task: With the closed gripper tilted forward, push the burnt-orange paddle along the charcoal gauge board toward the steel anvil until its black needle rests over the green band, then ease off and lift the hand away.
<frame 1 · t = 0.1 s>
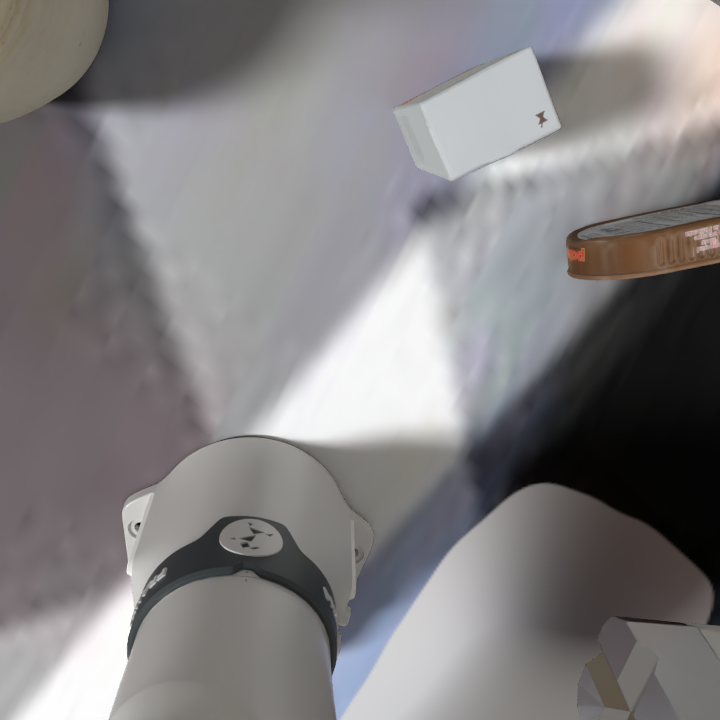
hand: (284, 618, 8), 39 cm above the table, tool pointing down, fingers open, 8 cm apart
tin: (653, 225, 47), on the table
skincare box: (443, 118, 44), on the table
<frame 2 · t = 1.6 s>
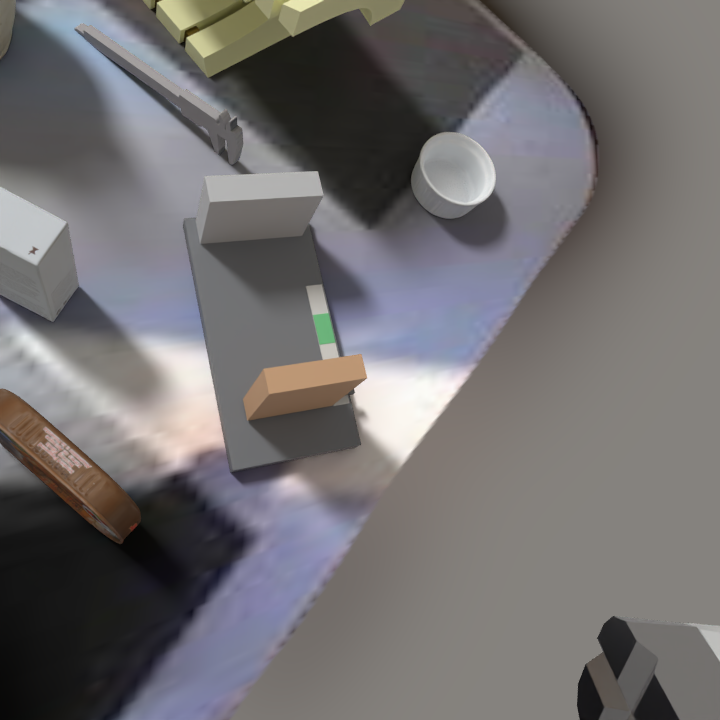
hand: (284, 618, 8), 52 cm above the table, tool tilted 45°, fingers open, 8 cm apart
caliper: (157, 99, 69), on the table
tin: (64, 473, 56), on the table
slatted curved stool: (227, 3, 75), on the table
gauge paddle: (313, 387, 58), point 7 cm above the table, slide at 0.0 cm
ramekin: (441, 189, 77), on the table
skincare box: (35, 287, 60), on the table
gauge board: (269, 335, 65), on the table
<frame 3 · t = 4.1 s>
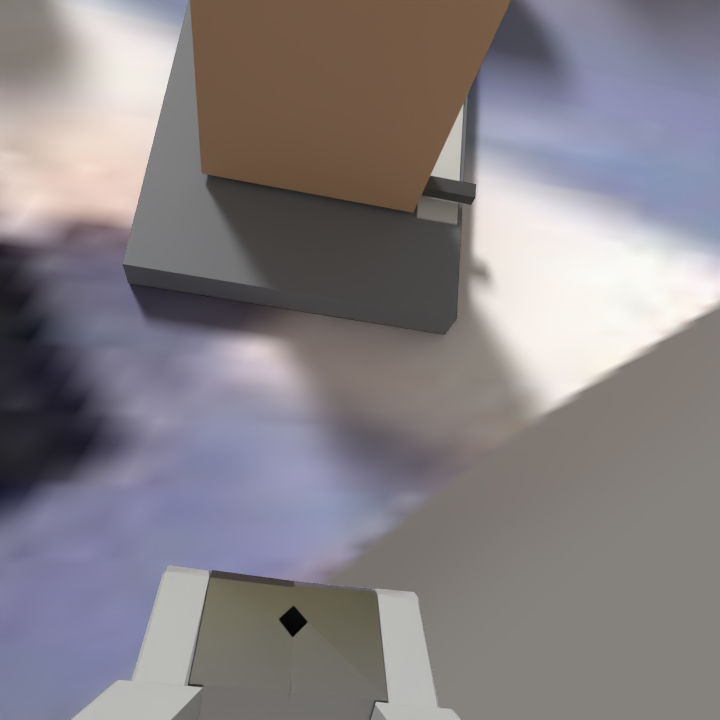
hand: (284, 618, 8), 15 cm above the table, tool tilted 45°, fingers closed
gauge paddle: (365, 83, 21), point 7 cm above the table, slide at 0.0 cm
gauge board: (327, 63, 30), on the table
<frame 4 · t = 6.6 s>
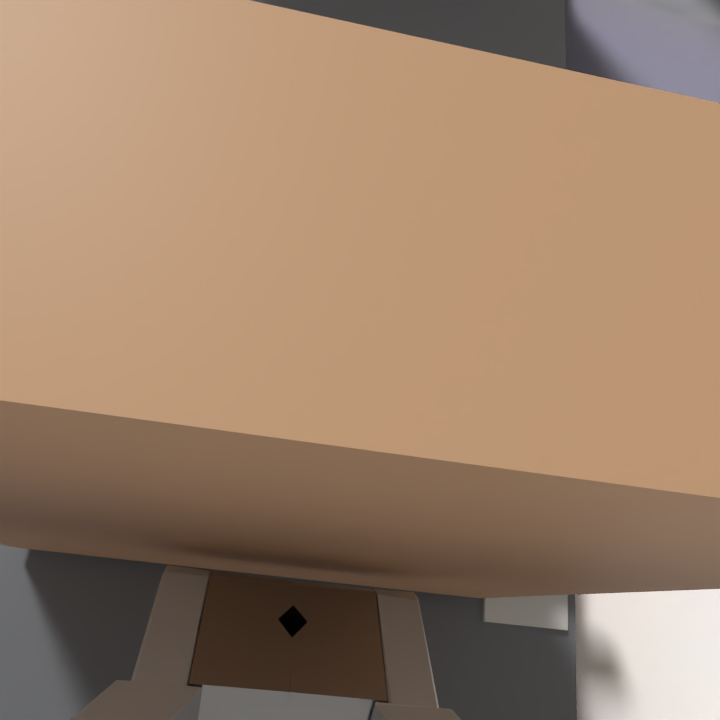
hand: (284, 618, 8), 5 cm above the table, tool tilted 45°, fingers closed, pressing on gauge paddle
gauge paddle: (382, 470, 8), point 7 cm above the table, slide at 0.4 cm, touching gripper
gauge board: (300, 240, 16), on the table
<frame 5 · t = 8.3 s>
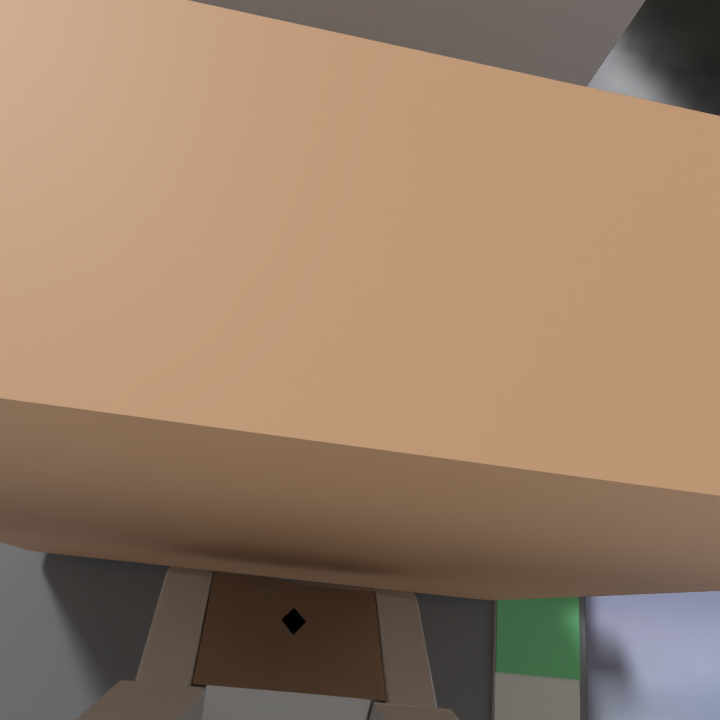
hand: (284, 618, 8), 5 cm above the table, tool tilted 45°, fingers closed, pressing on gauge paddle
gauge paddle: (404, 474, 8), point 7 cm above the table, slide at 7.2 cm, touching gripper
gauge board: (270, 538, 14), on the table
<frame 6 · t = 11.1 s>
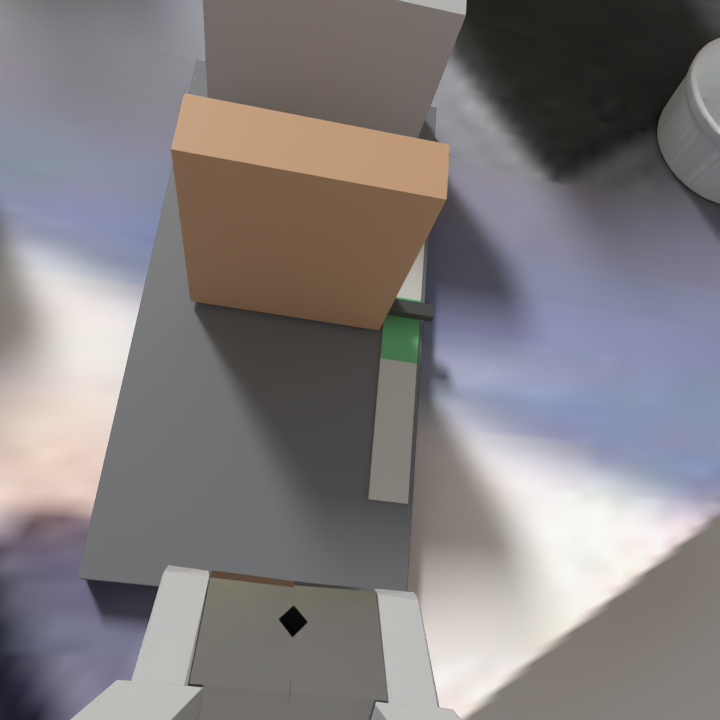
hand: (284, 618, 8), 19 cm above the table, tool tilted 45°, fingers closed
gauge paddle: (330, 239, 25), point 7 cm above the table, slide at 7.2 cm
ramekin: (715, 153, 39), on the table
gauge board: (285, 315, 31), on the table
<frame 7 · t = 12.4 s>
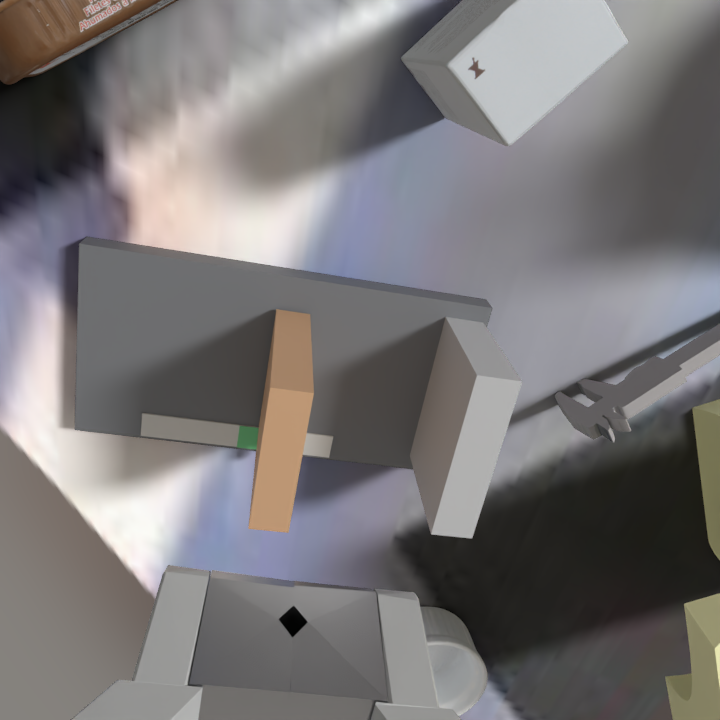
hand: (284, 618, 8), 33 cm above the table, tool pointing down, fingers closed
caliper: (693, 327, 45), on the table
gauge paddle: (279, 429, 38), point 7 cm above the table, slide at 7.2 cm
ramekin: (419, 638, 55), on the table
skincare box: (466, 50, 37), on the table
gauge board: (281, 359, 43), on the table
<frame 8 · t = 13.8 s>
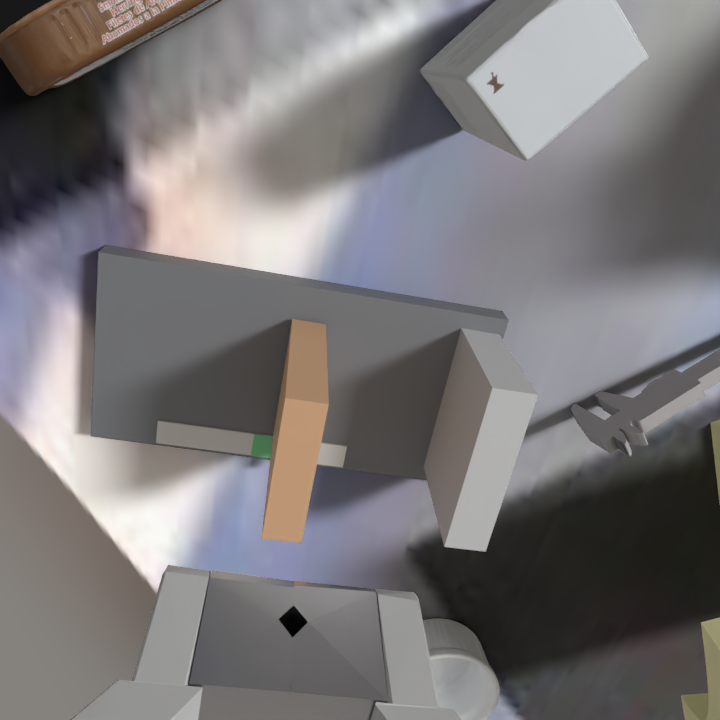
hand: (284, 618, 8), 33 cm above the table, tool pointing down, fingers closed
caliper: (712, 340, 45), on the table
tin: (173, 1, 35), on the table
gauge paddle: (293, 439, 38), point 7 cm above the table, slide at 7.2 cm
ramekin: (431, 650, 55), on the table
skincare box: (484, 62, 37), on the table
gauge board: (296, 368, 43), on the table
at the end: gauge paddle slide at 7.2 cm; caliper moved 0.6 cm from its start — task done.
